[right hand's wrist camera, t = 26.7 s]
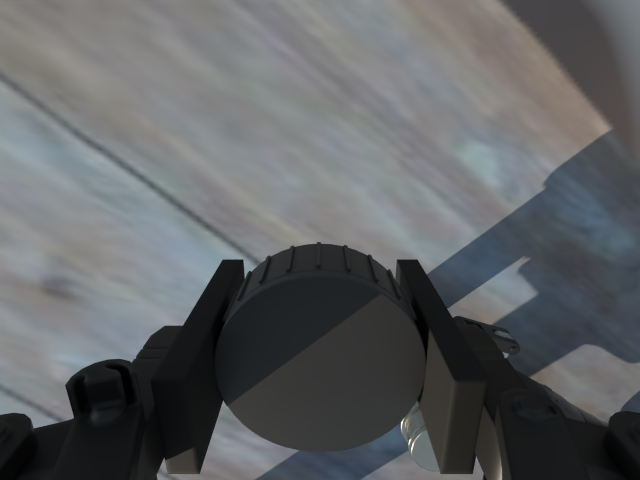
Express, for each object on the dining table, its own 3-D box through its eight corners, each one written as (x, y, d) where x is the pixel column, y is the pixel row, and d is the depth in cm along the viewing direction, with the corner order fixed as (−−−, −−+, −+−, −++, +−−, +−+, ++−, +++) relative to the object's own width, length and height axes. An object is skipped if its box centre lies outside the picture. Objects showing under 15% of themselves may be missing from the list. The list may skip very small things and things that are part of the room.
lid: (416, 387, 13) (435, 443, 11) (251, 406, 14) (237, 464, 12) (403, 228, 11) (423, 258, 9) (210, 255, 12) (184, 291, 10)
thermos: (376, 341, 44) (408, 478, 28) (373, 303, 42) (405, 426, 26) (420, 336, 44) (477, 472, 28) (418, 298, 42) (477, 419, 26)
